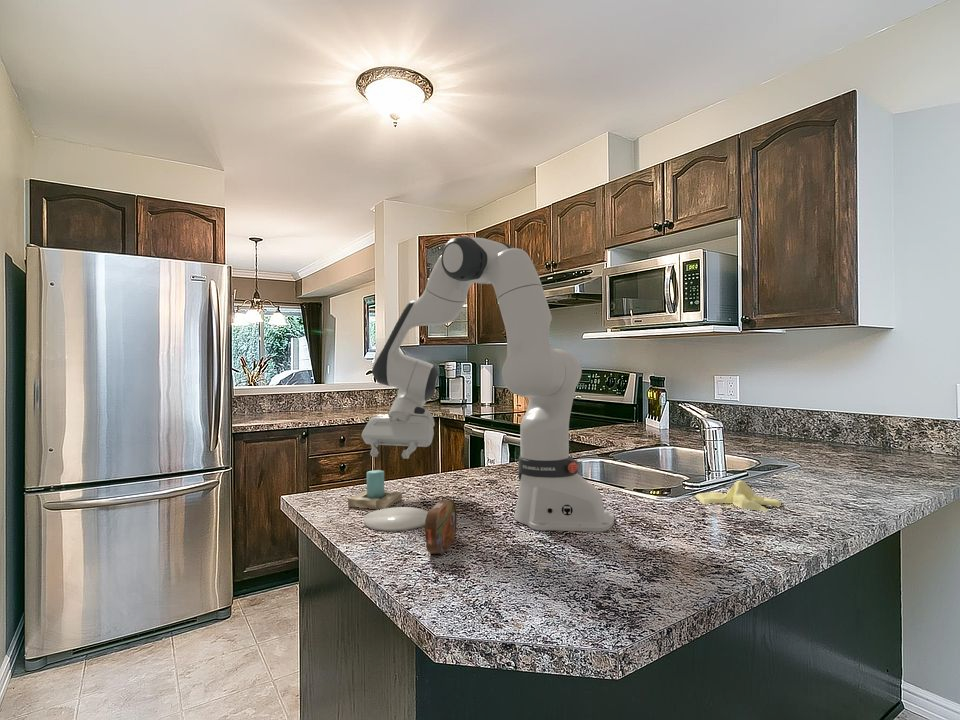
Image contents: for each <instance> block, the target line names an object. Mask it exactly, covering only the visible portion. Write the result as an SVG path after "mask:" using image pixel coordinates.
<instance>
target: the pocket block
mask: <svg viewBox="0 0 960 720" xmlns="http://www.w3.org/2000/svg"><path fill="white" fill-rule="evenodd" d="M401 499H402V500H403V491H392V490H391V491H390V490H384V497H383V498H381V499H375V498H367V489H366V490H364V491H362V492H360V493H358V494H355V495H353V496H351V497H349V498H347V506H348V507H347V508H356V507H359V508H360V509H367V508H369V510H379V509H385V508H387V507H388V508H390V507H392V506H393V504H394V503H395V504H397V503H399V502H400V501H399V500H401ZM402 500H401V501H402ZM398 501H399V502H398ZM396 502H397V503H396ZM395 504H394V505H395ZM391 505H392V506H391ZM389 506H390V507H389ZM359 508H358V509H359Z"/></svg>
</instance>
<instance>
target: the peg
mask: <svg viewBox="0 0 960 720" xmlns="http://www.w3.org/2000/svg"><path fill="white" fill-rule="evenodd" d="M366 490H367V498H375V499H381V498H383V497H384V491H385V471H384V470H380V469H376V470H374V469H373V470H369V471H366Z"/></svg>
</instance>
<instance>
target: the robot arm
mask: <svg viewBox="0 0 960 720" xmlns="http://www.w3.org/2000/svg"><path fill="white" fill-rule="evenodd" d="M474 283H475V284H479V285H492V287H493V289H494V293H495V297H496V301H497V303H498V307H499V311H500V314H501V318H502V321H503V324H504V329H505V335H506V358H505V361H504V363H503V365H502V370H501V377H502V382H503V384H504V386H505V388H506V389H507V390H508V391H509V392H510V393H512V394H513V395H516V396H519V397H524V398H527V399H529V401H528V405H527V407H526V411H525V413H524V415H523V417H522V418H521V422H520V426H519V428H520V429H519V431H520V432H519V433H520V437H519V442H520V443H519V444H520V448H519V449H520V455H519V456H518V462H517V469H518V471H517V475H518V481H519V488H518V496H517V502H516V508H515V511H514V515H513V518H514V520H515V521H516V522H519V523H521V524H523V525H526V526H528V527H529V528H530V529H532V530H537V531H565V532H566V531H567V532H597V533H598V532H599V533H601V532H605V531H607V530H610V529H611V528H612V527H613V526H614V523H615V518H614V517H615V516H614V514H613V512H611V511H609V510H607V509H605V506H604V500H603V497H602V494H601V492H600V491H599V489H597V488H596V487H595V486H594V485H592V484H591V483H590V482H588V481H587V480H586V479H585V478H584V477H582V475H580V474H579V473H578V472H579V463H578V459H574V458H573V457H571V456H570V453H569V452H570V450H569V449H570V446H569V445H570V443H569V442H570V435H569V434H570V433H569V432H570V431H569V430H570V417H571V413H572V407H573V402H574V397H575V392H576V388H577V386H578V384H579V383H580V380H581V378H582V373H583V372H582V371H583V369H582V365H581V362H580V361H579V359H578V358H577V357H576V356H575V355H574V354H572V353H570V352H569V351H567V350H564V349H563V348H562V349H561V348H553V347H552V344H551V339H550V337H551V335H550V325H551V322H552V319H553V318H552V312H551V311H550V310H551V309H550V307H549V303H548V300H547V297H546V294H545V291H544V287H543V284H542V282H541V279H540V276H539V273H538V271H537V269H536V267H535V265H534V263H533V260H532V259H531V256H529V254H528V252H526V251H525V250H524V249H522V248H517V247H513V246H511V245H510V244H507V243H504V242H502V241H501V242H498V241H495V240H491V239H488V238H486V237H485V238H484V237H469V236H465V235H464V236H457V237H453V238H451V239H449V240H448V241H447V242H446V243H445V245H444V247H443V248H442V252H441V255H440V256H439V257H438V259H437V260H436V262H435V264H434V266H433V268H432V270H431V272H430V274H429V276H428V280H427V282H426V285H425V289H424V291H423V292H422V294H421V295H420V296H418V298H417V299H415V300H414V299H413V300H410V301H409V302H408V304H406V306H405V307H404V309H403V310H402V313H401V314H400V316H399V318H398V319H397V321H396V323H395V325H394V327H393V329H392V331H391V333H390V335H389V337H388V339H387V340H386V343H385V344H384V346H383V348H382V350H381V351H380V352H379V353H378V354H377V356H376V357H375V359H374V361H373V364H372V369H371V374H372V375H373V378H374V379H375V381H376V382H377V383H378V384H380V385H385V386H389V387H394V388H396V389H398V390H397V393H396V394H397V395H396V397H395V399H394V400H393V402H392V404H391V408H390V409H389V412H388V414H382V415H381V414H376V415H375V416H372V417H371V418H369V420H368V422H367V423H366V425H365V426H364V429H363V430H362V432H361V438H362V440H363V442H364V443H365V444H366V445H370V447H371V448H370V449H371V450H370V452H369V455H370V456H371V457H373V458H374V457H375V458H377V457H378V455H379V450H378V447H379V446H397V447H398V446H401V447H406V449H403V450H402V453H401V457H402V459H406V460H407V459H409V458H410V455H411V454H412V453H414V452H415V451H417V448H420V447H422V448H427V447H429V446H430V445H432V442H433V439H434V435H435V432H434V431H435V429H434V427H435V424H436V423H435V419H434V417H433V415H432V413H431V412H430V410H429V409H428V408H425V407H424V405H425V404H426V403H427V401H428V400H430V399H431V398H432V397H433V396H434V394H435V389H436V387H437V385H438V382H439V378H440V374H439V372H438V369H437V367H436V365H434V364H433V363H429V362H427V361H425V360H422V359H418V358H415V357H412V356H409V355H407V354H403V353H401V352H400V350H399V349H400V347H401V345H403V342H404V341H405V339H406V337H407V334H408V333H409V331H410V330H411V329H413V328H416V327H422V326H425V327H426V326H431V327H432V326H443V325H447V324H450V323H452V322H454V321H455V320H456V319H457V318H458V317H459V315H460V314H461V312H462V310H463V308H464V305H465V303H466V300H467V297H468V294H469V293H468V292H469V290H470V288H471V286H472V285H473V284H474Z"/></svg>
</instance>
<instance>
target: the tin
mask: <svg viewBox="0 0 960 720" xmlns="http://www.w3.org/2000/svg"><path fill="white" fill-rule="evenodd" d="M457 516H458V515H457V508H456V504H455V502H454V500H453V498H452V499H451V498H450V499H441V500H439V501H437V502H436V503H435V504H434V505H433V506H432V507H431V508H430V509H429V510H428V513H427V516H426V520H425V525H424V532H425V533H424V534H425V547H426V550H427V552H428V554H432V555H444V554H445V553H446V552H447V550H448V549H449V548H450V546H451V545H452V543H453V542H454V540H455V538H456V534H457V523H458V522H457V521H458V520H457Z"/></svg>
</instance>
